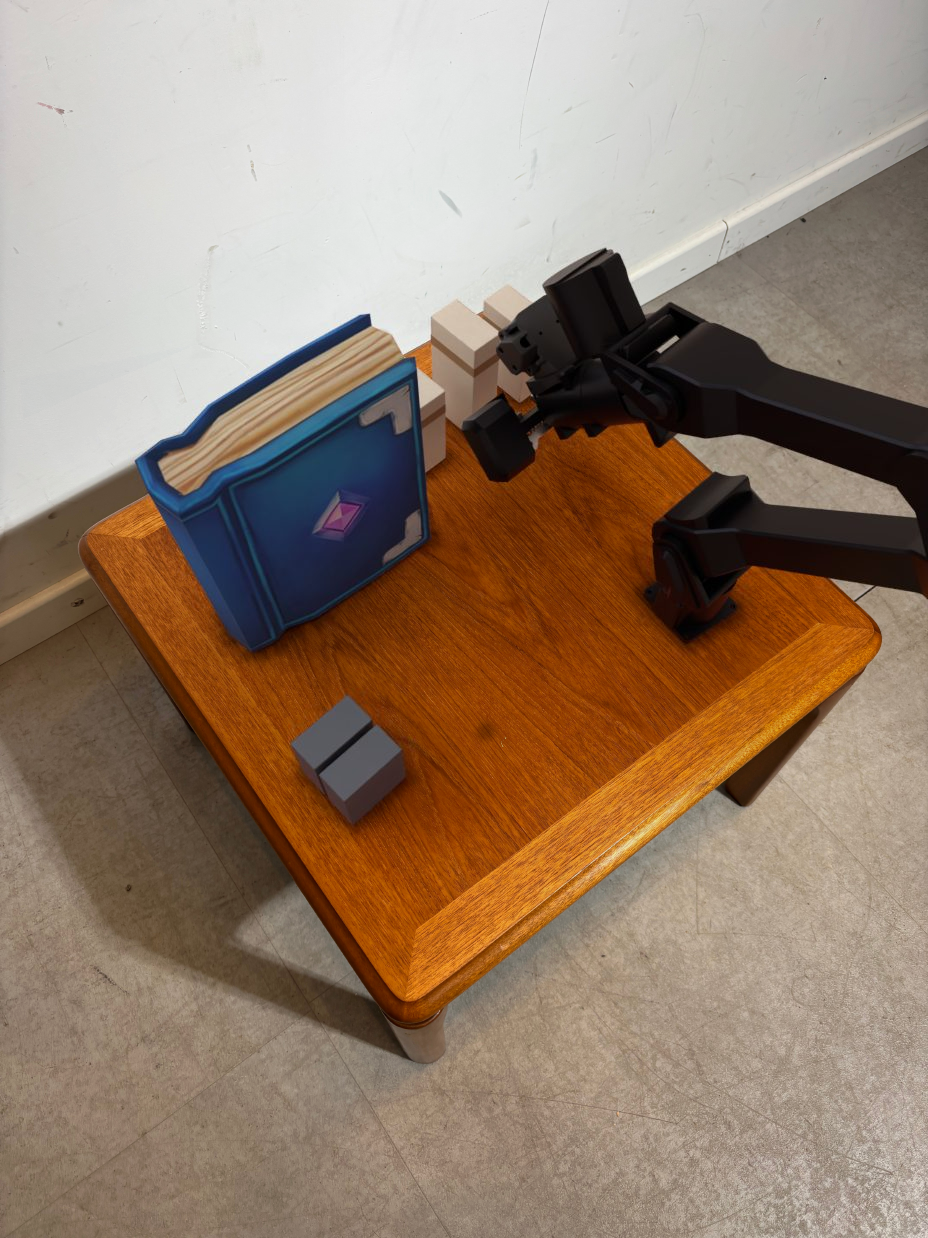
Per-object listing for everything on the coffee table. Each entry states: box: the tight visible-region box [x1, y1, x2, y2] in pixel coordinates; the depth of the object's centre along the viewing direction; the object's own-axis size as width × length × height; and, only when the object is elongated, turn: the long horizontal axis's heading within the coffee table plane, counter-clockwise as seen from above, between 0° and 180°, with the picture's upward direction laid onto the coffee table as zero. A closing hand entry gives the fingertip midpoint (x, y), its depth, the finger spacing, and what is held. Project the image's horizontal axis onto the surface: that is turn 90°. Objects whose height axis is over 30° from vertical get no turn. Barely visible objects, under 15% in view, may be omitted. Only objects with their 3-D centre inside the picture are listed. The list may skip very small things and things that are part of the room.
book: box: [134, 313, 432, 654], centre depth 74 cm, size 22×7×25 cm, turn 129°
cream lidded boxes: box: [404, 283, 534, 474], centre depth 90 cm, size 6×17×10 cm, turn 133°
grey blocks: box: [289, 694, 407, 826], centre depth 73 cm, size 6×6×7 cm
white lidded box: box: [430, 298, 500, 430], centre depth 89 cm, size 6×3×12 cm, turn 43°
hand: (507, 405), depth 87 cm, fingers open, 6 cm apart
